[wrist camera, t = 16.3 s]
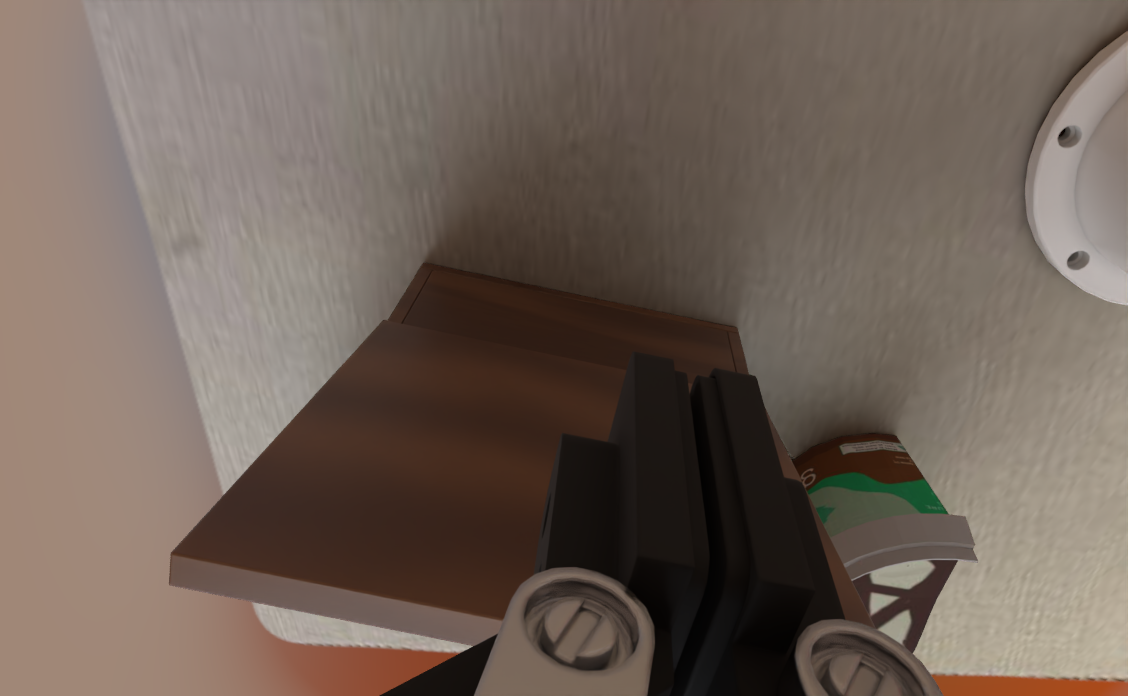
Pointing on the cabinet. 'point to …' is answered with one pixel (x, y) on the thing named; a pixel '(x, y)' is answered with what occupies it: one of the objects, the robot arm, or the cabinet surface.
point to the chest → (563, 323)
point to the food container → (885, 528)
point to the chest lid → (415, 488)
